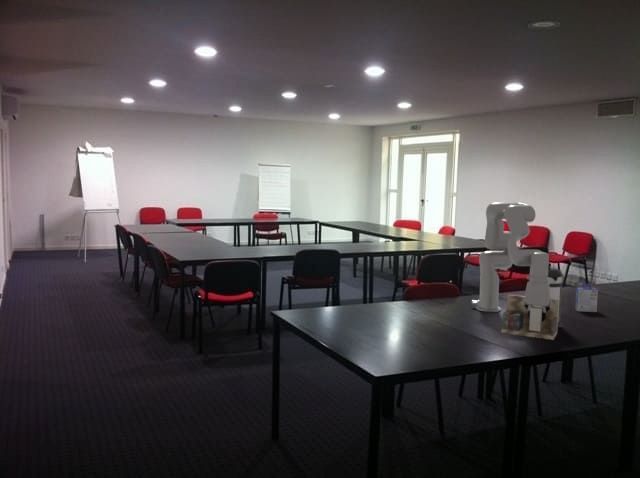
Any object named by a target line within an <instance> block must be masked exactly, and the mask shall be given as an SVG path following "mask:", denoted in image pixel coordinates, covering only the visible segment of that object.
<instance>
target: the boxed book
mask: <svg viewBox="0 0 640 478" xmlns="http://www.w3.org/2000/svg"><path fill="white" fill-rule="evenodd" d="M542 312H543V309H542V306H535V305H533V306H532V307H531V308H530V325H529V330H532V331H539V332H540V331H541V330H542V328H543V321H541V320H542Z"/></svg>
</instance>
